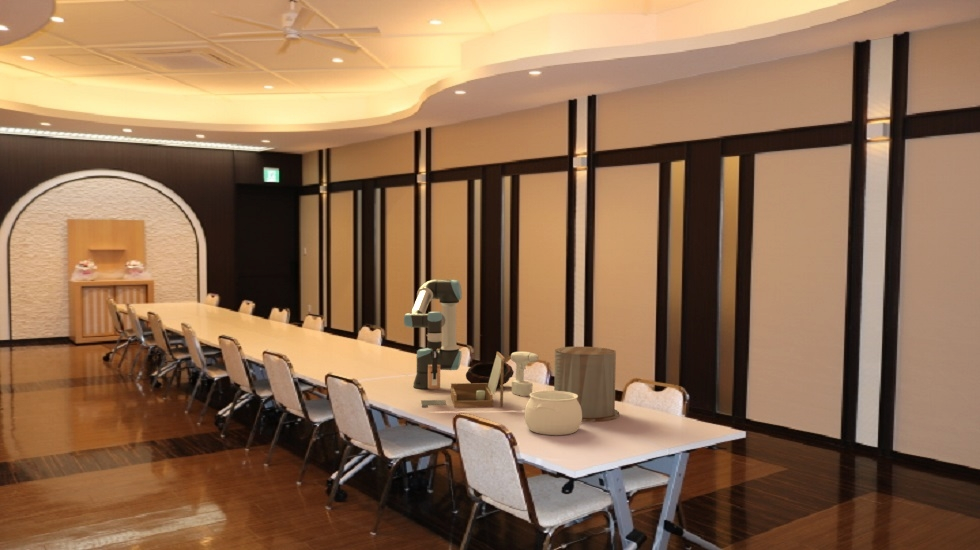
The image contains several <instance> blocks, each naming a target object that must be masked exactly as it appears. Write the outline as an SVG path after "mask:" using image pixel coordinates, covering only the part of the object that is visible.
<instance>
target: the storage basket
mask: <svg viewBox="0 0 980 550" xmlns="http://www.w3.org/2000/svg"><path fill="white" fill-rule="evenodd" d="M616 357H617V351H616V350H615V349H610V348H607V347H605V348H604V347H599V346H597V347H595V346H562V347H557V348H555V349H554V380H553V381H554V382H553V383H554V384H553V385H554V386H553V387H554V389H553V391H565V392H570V393H574V394H577V395H578V398H576V399H577V401H578V402H579V404H580V406H581V410H582V421H585V422H589V423H594V422H595V423H598V422H607V421H613V420H617V418H619V416H620V411H618V409H616V408H615V407H616V406H615V405H616V370H617V369H616V367H617V366H616V359H617V358H616Z"/></svg>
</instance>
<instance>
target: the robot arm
mask: <svg viewBox="0 0 980 550" xmlns="http://www.w3.org/2000/svg"><path fill="white" fill-rule="evenodd" d="M462 294H463V292H462V285H461V282H460V281H459V280H457V279H430V280H428V281H426V282H424V283H423V284H422V285H421V286H419V288H418V290H417V293H416V300H415V302H414V304H413V306H412V309H411V311H410V312H409V313H405V314H404V316H403V325H404V327H406V328H423V329H424V328H427V334H426V337H427V345H426V346H427V347H424V348H419V349H418V350H416V375H415V378H414V381H413V388H415V389H421V390H430V389H429V388H428V365H430V364H432V372H431V373H432V385H437V364H438V365H440V371H457V370H459V369H460V366H461V362H462V354H463V353H462V350H460V346H458V345H457V306H458V304H459V303H460V300H462V298H463V295H462ZM432 300H439V304H440V305H441V311H428V313H426V311H427V309H428V306H429V304H430V302H431V301H432Z"/></svg>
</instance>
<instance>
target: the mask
mask: <svg viewBox="0 0 980 550" xmlns="http://www.w3.org/2000/svg"><path fill="white" fill-rule="evenodd" d="M494 362H495V361H493V362H477V363H475V364H474V365H472V366H471V367H469V368H468V369H467V372H466V373H465V379H466V380H467V381H468V382H469V383H487V384H488V383H489V380H490V376H491V372H492V369H493V365H494ZM513 375H514V369H513V368H512V366H511V365H510V364H509V363H508V362H504V368H503V385H505V384H507V383H508V382H509V381H510V379H511V378H512V377H513ZM487 387H488V386H487ZM498 387H499V388H500V387H501V373H500V377H499V380H498V384H497V388H498Z"/></svg>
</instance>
